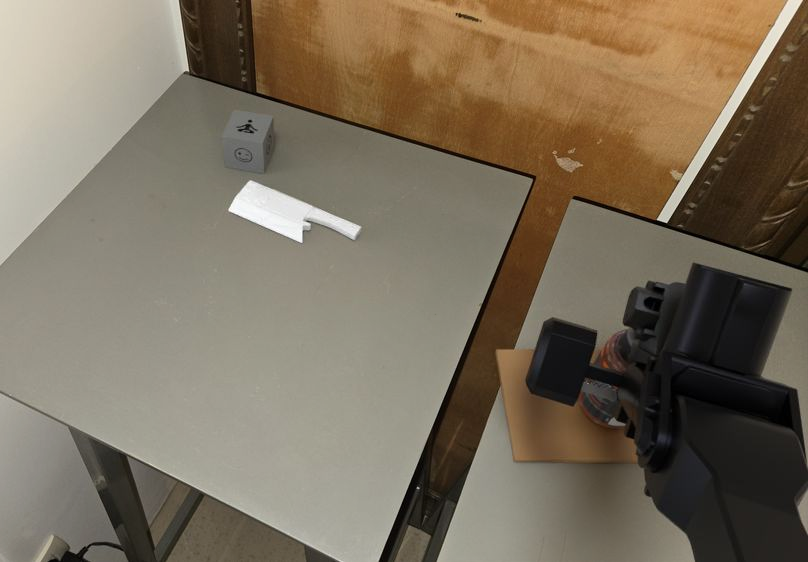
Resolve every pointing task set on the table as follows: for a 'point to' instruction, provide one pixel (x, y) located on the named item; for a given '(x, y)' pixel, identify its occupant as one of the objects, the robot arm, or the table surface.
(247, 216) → the white plastic blade
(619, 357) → the supplement bottle
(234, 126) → the dice cube
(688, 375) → the robot arm
